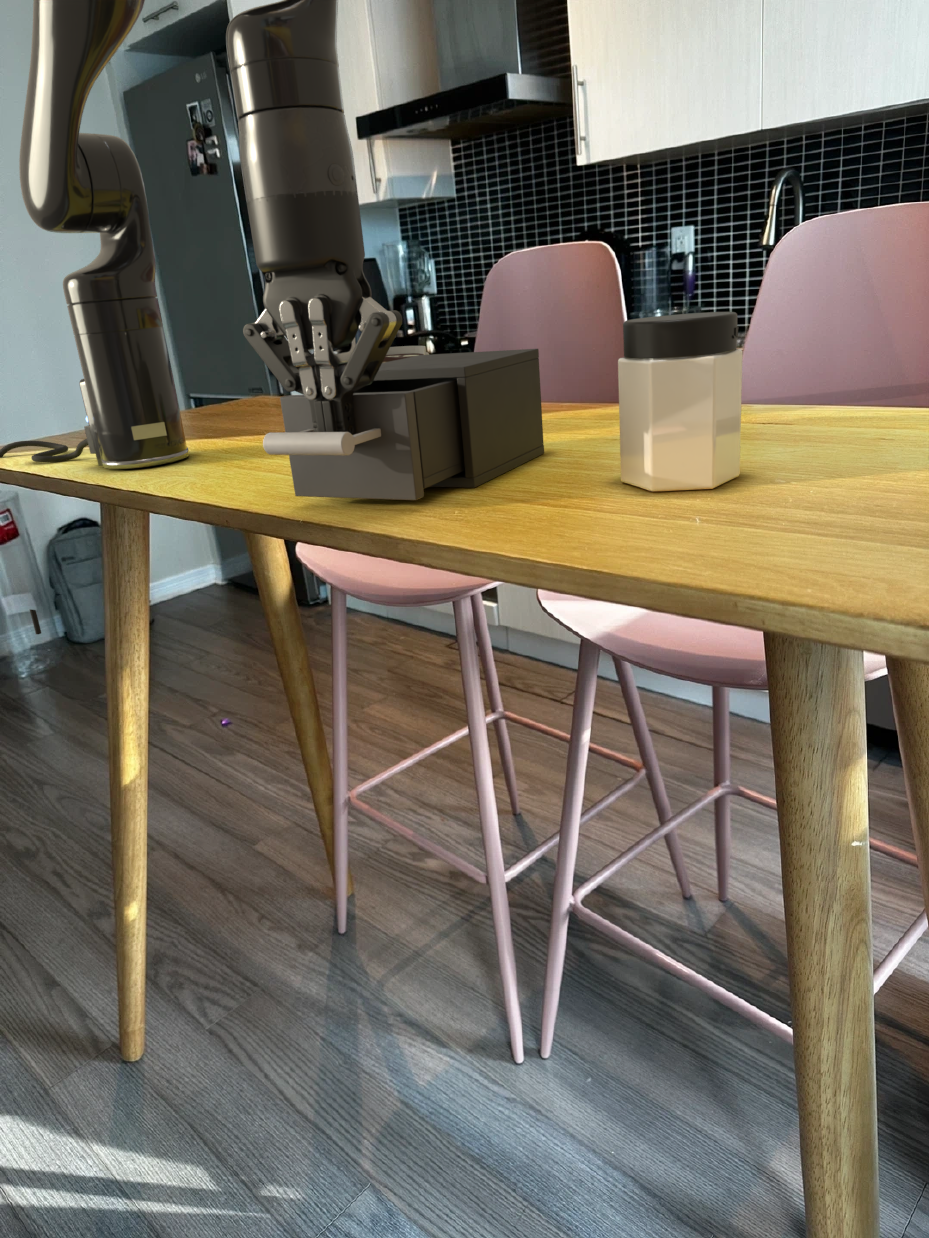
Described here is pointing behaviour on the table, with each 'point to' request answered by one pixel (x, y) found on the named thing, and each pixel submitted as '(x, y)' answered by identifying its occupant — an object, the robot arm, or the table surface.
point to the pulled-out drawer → (376, 442)
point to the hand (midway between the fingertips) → (337, 449)
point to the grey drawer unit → (486, 407)
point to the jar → (680, 401)
